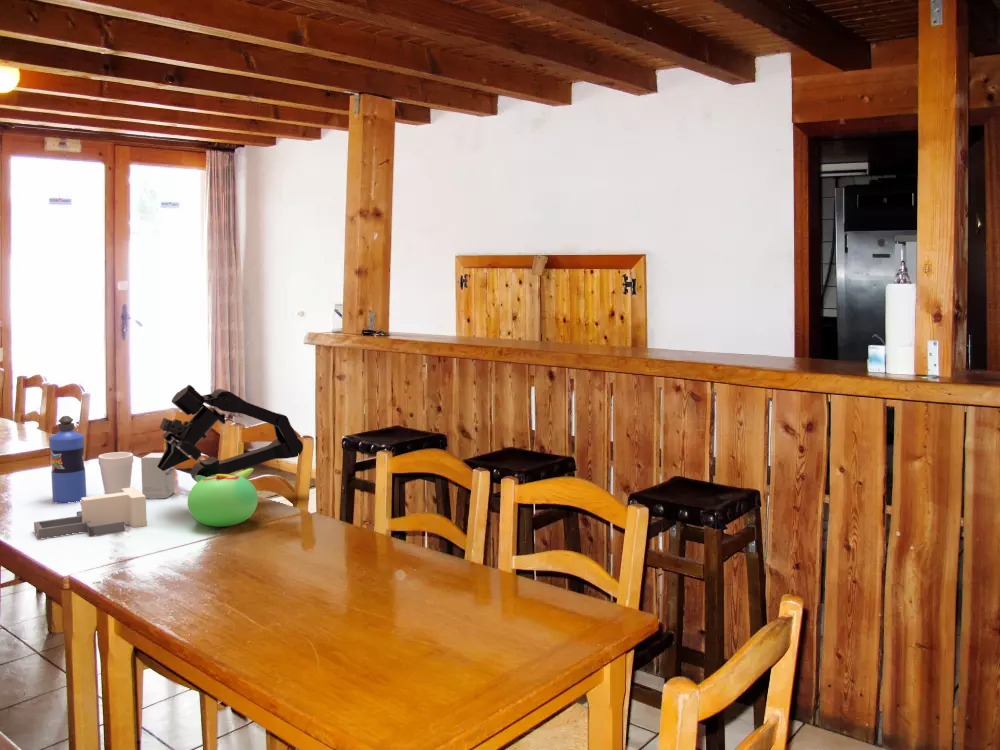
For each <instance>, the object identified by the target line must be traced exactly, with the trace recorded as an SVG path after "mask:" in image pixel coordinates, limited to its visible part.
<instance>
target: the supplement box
mask: <svg viewBox="0 0 1000 750" xmlns="http://www.w3.org/2000/svg"><path fill="white" fill-rule="evenodd" d="M163 454H164V452H150V453H148V454H146V455H144V456H143V457H141V458H140V459H141V461H140V463H141V488H142V489H141V493H142V494H144V495H145V496H146V499H154V498H166V499H167V498H168V497H170V496H171V495H173V494H175V493H174V492H176V491H175V489H176V487H175V485H176V484H175V482H176V481H175V466H173V467H171V468H169V469H167V470H165V471H162V470H161V469H159V468H158V467H157V466H158V464H159V462H160V460H161V458H162V456H163ZM172 493H173V494H172ZM169 495H170V496H169Z"/></svg>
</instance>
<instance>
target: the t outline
mask: <svg viewBox="0 0 1000 750" xmlns="http://www.w3.org/2000/svg"><path fill="white" fill-rule="evenodd" d="M33 530H34V531H35V532H34V533H35V535H36V534H37V535H36V537H38V538H37V539H39V540H42V539H41V538H45V539H48V538H47V537H51V538H55V537H54V536H58V537H62V536H61V535H65V536H67V535H66V534H71V535H73V534H72V533H78V534H80V533H79V532H84V533H86V534H87V533H88V534H89V535H88V534H87V535H88V536H89V537H95V535H96V536H102V535H109V534H115V533H122V532H126V524H125V522H124V521H120V522H113V523H106V524H100V525H92V524H91V523H90V522H89V521H88V522H82V510H81V511H76V516H70V517H61V518H54V519H53V518H52V519H48V520H41V521H34V522H33Z"/></svg>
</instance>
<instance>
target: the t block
mask: <svg viewBox="0 0 1000 750" xmlns="http://www.w3.org/2000/svg"><path fill="white" fill-rule="evenodd" d="M146 499H147V498H146V496H145V495H144V494H142V491H140V490H139V489H137V487H135V486H133V487H132V486H130V488H123V489H121V493H113V494H105V493H104V494H97V495H92V496H86V497H82V498H81V501H80V504H81V506H80V507H81V508H80V509H81V511H82V522H88V521H89V522H90V523H91V524H92V525H100V524H106V523H113V522H120V521H124V522H125V525H130V526H131V527H132V528H137V527H138V528H139V527H144V526H148V525H147V523H148V521H147V500H146Z"/></svg>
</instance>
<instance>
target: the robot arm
mask: <svg viewBox="0 0 1000 750" xmlns="http://www.w3.org/2000/svg"><path fill="white" fill-rule="evenodd" d="M171 404H173V405H174V406H176V408H178V409H179V410H180V411H181V412H182V413H184V414H185V415H186V416H190V415H192V416H193V417H191V419H190V420H189V421H188V420H186V421H184V422H182V420H179V419H176V418H174V419H173V420H171V419H169V418H166V417H163V418H162V420H161V423H160V426H159V429H161V430H162V431H163V432H165V433H163V434H162V436H161V437H162V438H163V439H164V444H165V450H164V452H163V453H164V454H163V456H162V458H161V460H160V462H159V464H158V466H157V467H158V468H159V469H161V470H162V471H165V470H167V469H169V468H171V467H173V466H174V467H175V466H177V465H179V464H181V463H184V462H186V461H190V460H191V459H193V460H194V461H195V462H196V461H197V460H198V462H196V463H195V464H193V465H192V467H191V470H190V476H191V478H192V479H193V480H194V481H195V483H197V481H196V479H195V476H196V475H200V476H204V477H209V476H211V475H216V474H233V473H237V472H240V471H243V470H246V469H249V468H252V467H254V466H256V465H259V464H263V463H267V462H270V461H273V460H280V459H291V458H292V459H293V458H297V457H299V456H301V454H302V452H303V450H304V444H303V442H302V440H301V439H299V438H298V436H297V433H296V431H295V430H294V427H293V426H292V425H291V423H290V419H289V418H288V416H287V415H285V414H283V413H280V412H274V411H272V410H269V409H267V408H264V407H261V406H258V405H255V404H253V403H250V402H248V401H246V400H244V399H242V398H241V397H239V396H237V395H236V394H234V393H233V392H231V391H229V390H226V389H223V388H217V389H215V390H214V391H213V392H211V393H207V394H203V395H201V394H200V393H199V392H198V391H197V390H196V389H195V388H194V386H192V385H191V384H187V386H185V387H184V388H183V389H181V390H179V391H178V392H177V393H176V394H175V395H174V396H173V397H172V399H171ZM205 404H206V405H209V406H210V408H208V407H207V406H206V405H205ZM216 409H217V410H219V411H223V412H228V413H233V414H242V415H245V416H247V417H250V418H253V419H257V420H260V421H261V422H264V423H267V424H269V425H273V429H274V434H275V437H276V438H275V439H274V440H273V441H272V442H270V443H269V444H268V445H266V446H263V447H259V448H257V449H254V450H251V451H246V452H244V453H241V454H237V455H233V456H231V457H228V458H225V459H222V460H219V459H218V458H216V457H214V456H209V457H208V458H205V459H200V458H201V456H202V450H200V449H199V448H198V447H197V446H196V445H197V444H198V443H199V442H200V441H201V440H202V439H204V440H205V439H206V438H207V435H206V434H207V433H209V431H210V430H211V429H212V427H214V425H216V423H217V422H219V423H221V424H223V425H225V424H226V414H225V413H220V412H218V411H217V410H216ZM298 453H299V456H298ZM190 457H191V458H190Z"/></svg>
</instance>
